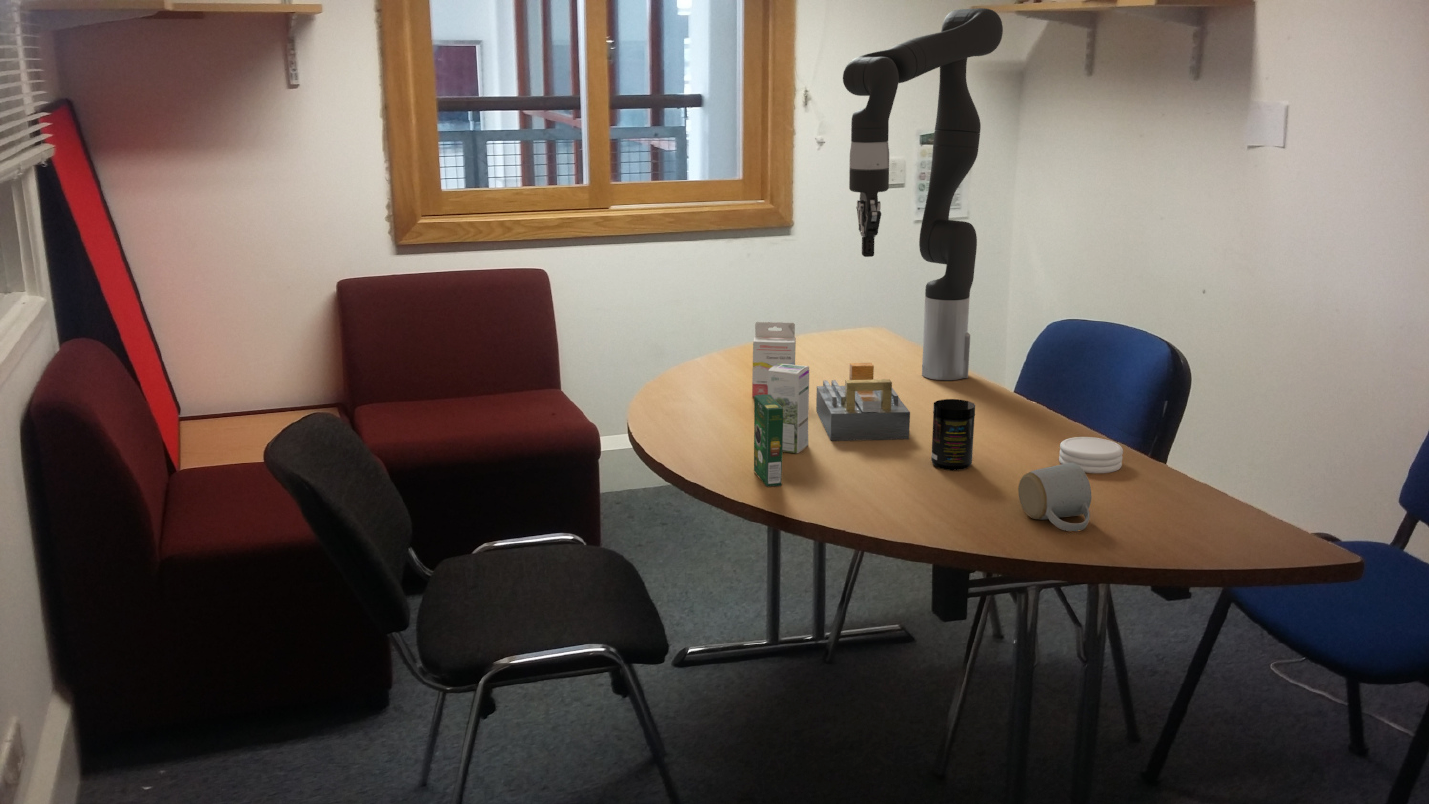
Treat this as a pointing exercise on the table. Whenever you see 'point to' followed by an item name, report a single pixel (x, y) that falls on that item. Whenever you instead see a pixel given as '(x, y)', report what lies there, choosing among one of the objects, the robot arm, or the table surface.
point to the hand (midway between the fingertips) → (867, 256)
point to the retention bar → (864, 398)
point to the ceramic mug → (1056, 495)
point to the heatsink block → (848, 418)
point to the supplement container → (953, 434)
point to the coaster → (1092, 454)
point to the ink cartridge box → (771, 352)
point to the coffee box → (768, 439)
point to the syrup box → (791, 403)
